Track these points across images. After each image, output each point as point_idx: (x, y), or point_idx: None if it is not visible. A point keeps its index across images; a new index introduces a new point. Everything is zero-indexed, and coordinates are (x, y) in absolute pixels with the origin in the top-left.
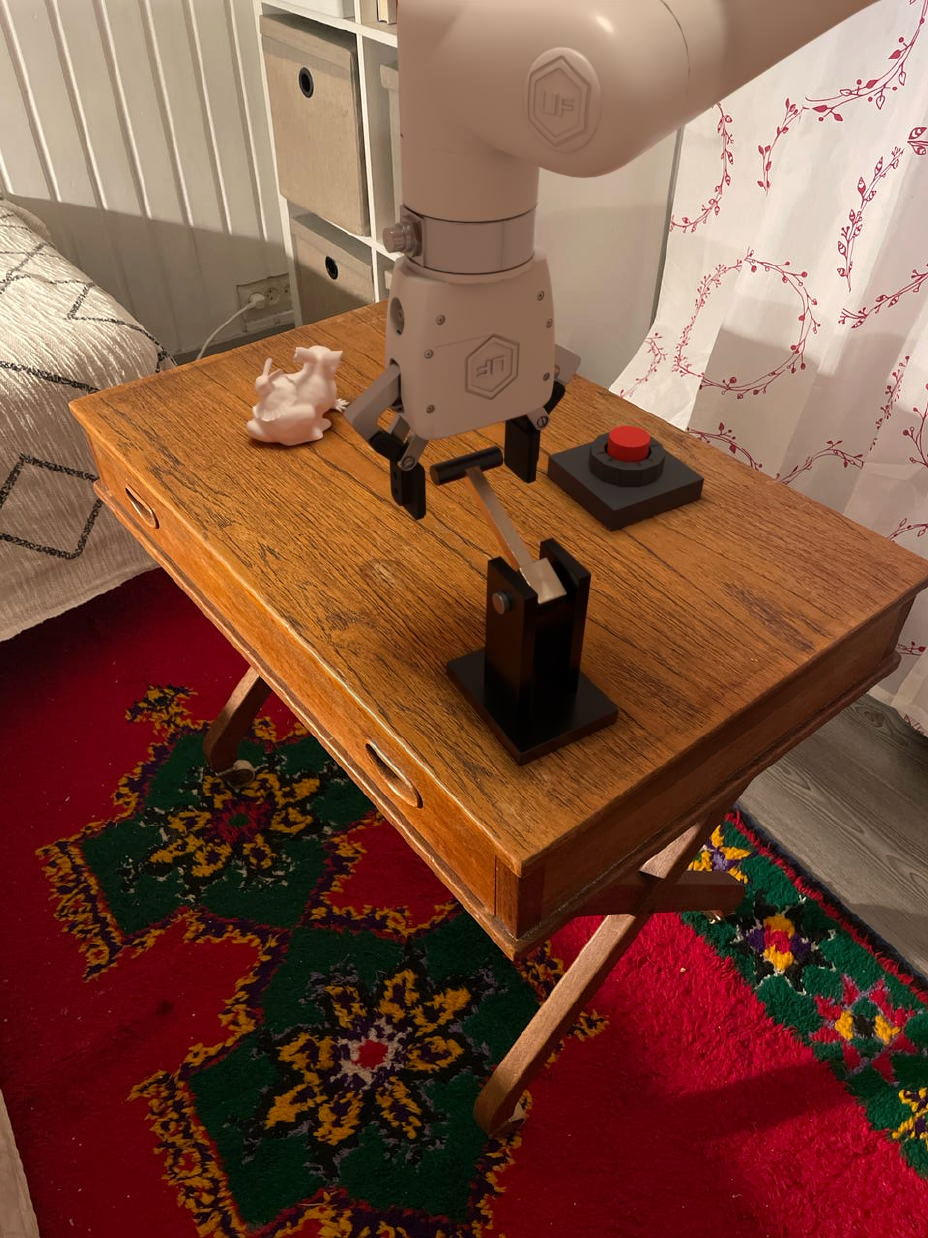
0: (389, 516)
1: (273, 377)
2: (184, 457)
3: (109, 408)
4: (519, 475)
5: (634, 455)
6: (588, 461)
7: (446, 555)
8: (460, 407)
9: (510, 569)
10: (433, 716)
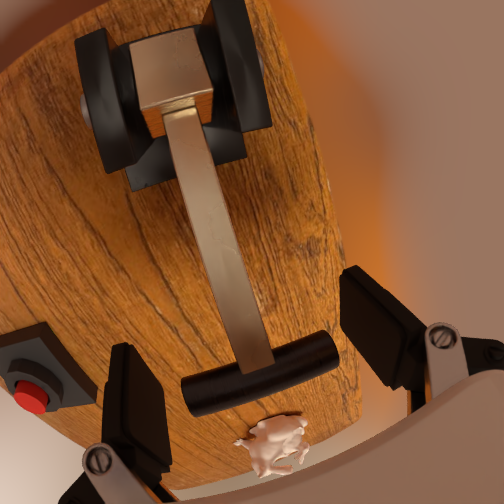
0: (234, 361)
1: (299, 453)
2: (338, 399)
3: (352, 420)
4: (141, 361)
5: (24, 386)
6: (63, 391)
7: (197, 316)
8: (469, 484)
9: (236, 82)
10: (271, 105)
